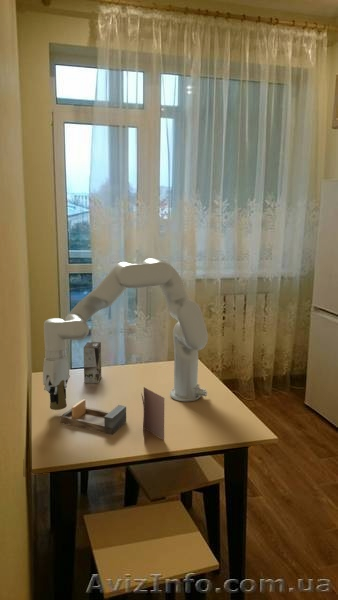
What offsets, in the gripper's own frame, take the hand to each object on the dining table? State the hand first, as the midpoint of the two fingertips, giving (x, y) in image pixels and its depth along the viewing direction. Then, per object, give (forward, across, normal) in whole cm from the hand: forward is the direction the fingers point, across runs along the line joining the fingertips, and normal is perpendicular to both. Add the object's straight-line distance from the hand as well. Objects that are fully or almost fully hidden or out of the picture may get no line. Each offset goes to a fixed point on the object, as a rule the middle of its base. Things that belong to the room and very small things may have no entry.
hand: (58, 400), depth 159 cm
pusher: (+4, 0, +9) cm, 10 cm away
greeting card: (+6, 0, +38) cm, 38 cm away
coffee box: (+6, -35, -7) cm, 36 cm away
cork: (+2, 0, 0) cm, 2 cm away
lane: (+6, 0, +15) cm, 16 cm away
